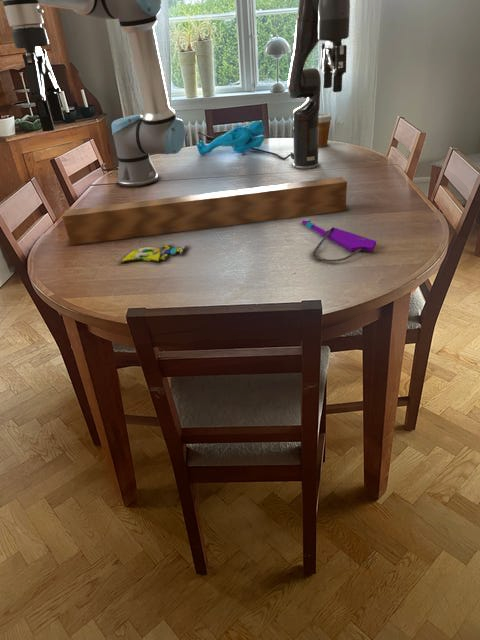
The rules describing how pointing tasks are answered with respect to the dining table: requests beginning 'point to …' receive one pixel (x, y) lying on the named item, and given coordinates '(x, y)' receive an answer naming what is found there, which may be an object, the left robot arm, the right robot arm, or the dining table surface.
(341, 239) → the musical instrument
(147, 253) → the toy
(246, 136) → the toy
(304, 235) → the dining table surface
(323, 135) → the disposable coffee cup
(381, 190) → the dining table surface
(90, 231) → the post
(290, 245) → the dining table surface
